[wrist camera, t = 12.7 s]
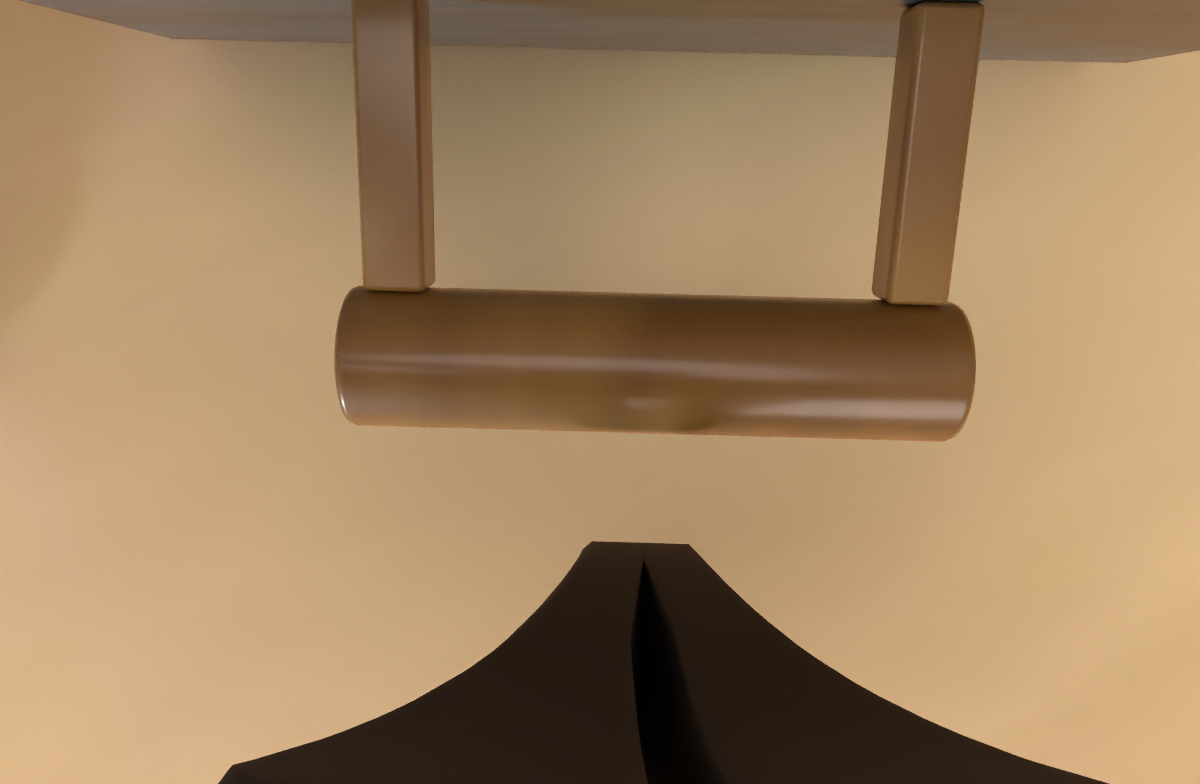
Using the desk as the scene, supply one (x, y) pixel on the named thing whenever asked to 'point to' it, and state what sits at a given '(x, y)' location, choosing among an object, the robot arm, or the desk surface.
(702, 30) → the drawer
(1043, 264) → the desk surface
